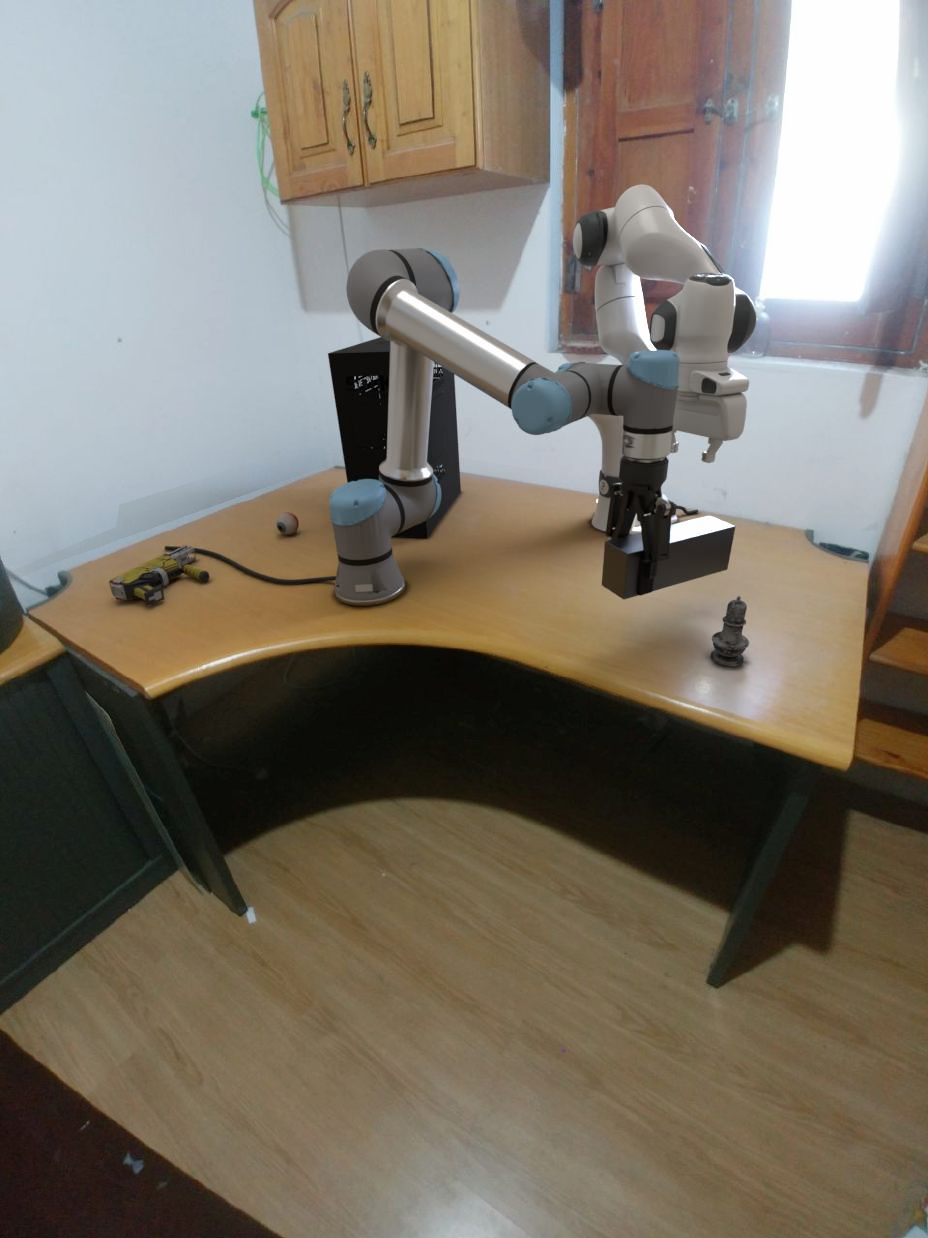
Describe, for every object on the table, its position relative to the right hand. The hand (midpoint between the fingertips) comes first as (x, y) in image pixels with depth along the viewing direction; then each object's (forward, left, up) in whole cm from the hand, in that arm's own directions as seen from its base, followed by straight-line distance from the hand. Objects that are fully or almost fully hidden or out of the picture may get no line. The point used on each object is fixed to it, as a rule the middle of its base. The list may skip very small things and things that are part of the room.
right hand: (689, 456), depth 113 cm
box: (+11, +10, -18) cm, 24 cm away
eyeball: (+66, -76, -28) cm, 104 cm away
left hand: (+19, +10, -18) cm, 28 cm away
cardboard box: (+31, -74, -28) cm, 85 cm away
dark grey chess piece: (+10, +25, -28) cm, 39 cm away
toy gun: (+96, -59, -28) cm, 116 cm away
